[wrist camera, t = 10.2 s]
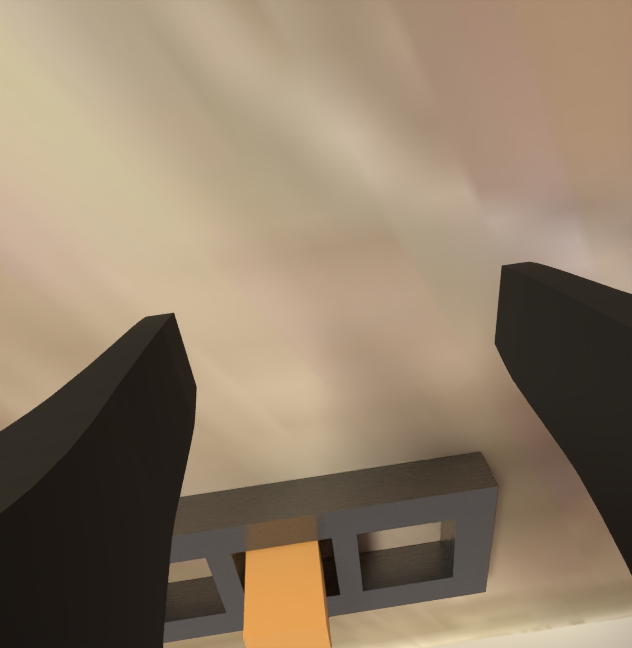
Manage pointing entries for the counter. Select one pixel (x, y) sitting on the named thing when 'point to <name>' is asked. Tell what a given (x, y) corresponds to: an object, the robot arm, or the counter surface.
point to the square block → (286, 598)
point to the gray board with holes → (337, 539)
